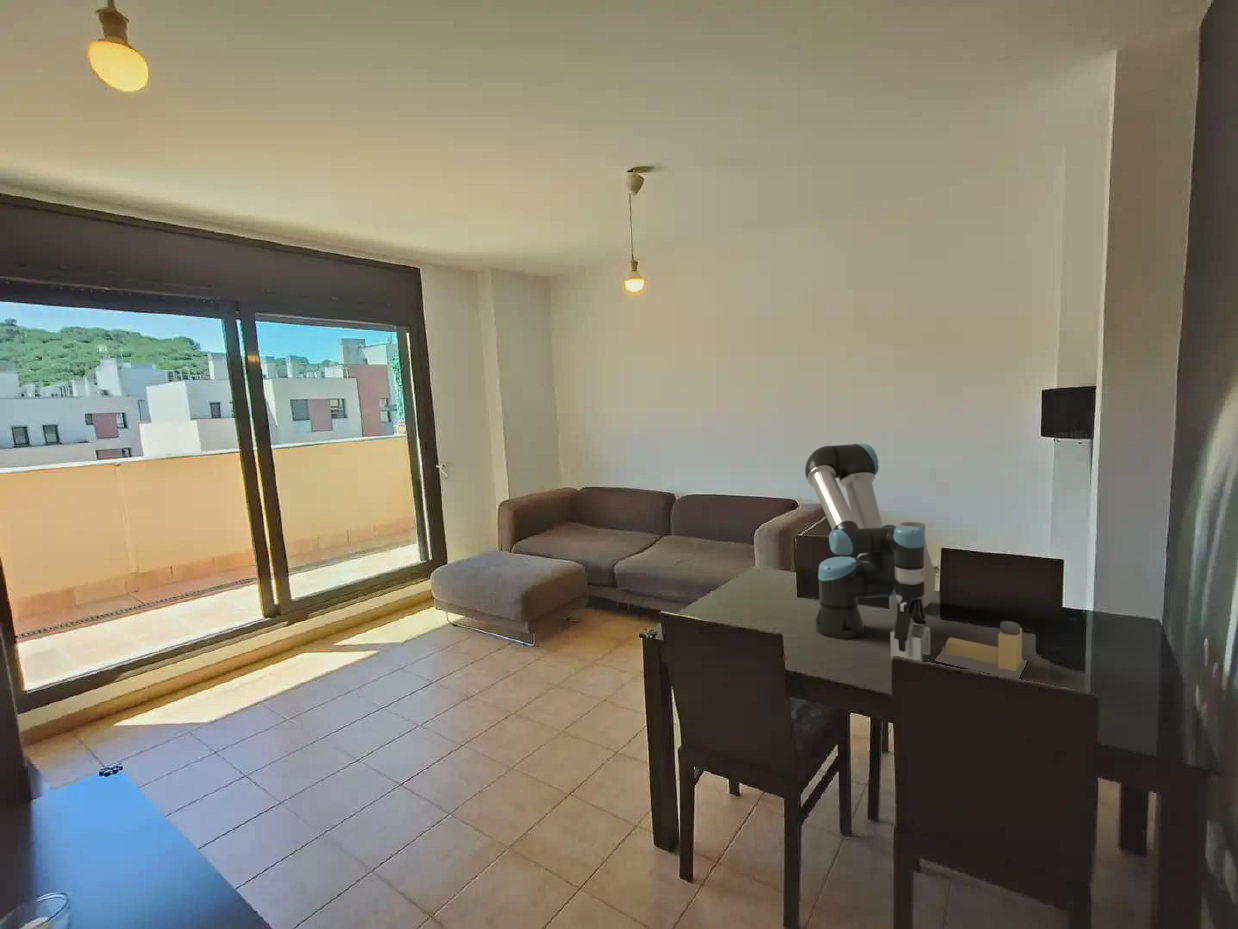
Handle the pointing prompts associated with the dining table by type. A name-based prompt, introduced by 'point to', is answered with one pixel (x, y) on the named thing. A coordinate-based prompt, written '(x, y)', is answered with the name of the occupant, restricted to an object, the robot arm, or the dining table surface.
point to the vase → (928, 568)
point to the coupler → (993, 648)
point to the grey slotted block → (914, 642)
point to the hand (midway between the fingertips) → (910, 653)
